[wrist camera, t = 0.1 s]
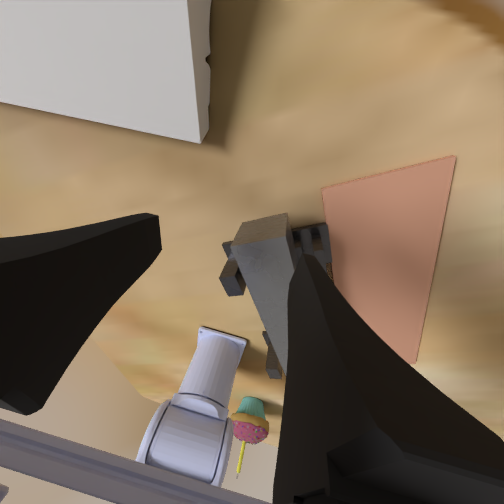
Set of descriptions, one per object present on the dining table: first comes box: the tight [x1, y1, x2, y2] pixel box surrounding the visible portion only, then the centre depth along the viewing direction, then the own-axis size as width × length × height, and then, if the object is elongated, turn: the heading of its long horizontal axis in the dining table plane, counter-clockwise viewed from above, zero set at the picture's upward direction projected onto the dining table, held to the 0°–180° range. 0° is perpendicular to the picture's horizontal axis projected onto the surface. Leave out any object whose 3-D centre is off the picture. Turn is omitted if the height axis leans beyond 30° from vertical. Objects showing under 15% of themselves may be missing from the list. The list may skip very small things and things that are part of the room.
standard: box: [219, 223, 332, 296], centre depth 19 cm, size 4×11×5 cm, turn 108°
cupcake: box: [231, 397, 269, 478], centre depth 40 cm, size 9×8×12 cm
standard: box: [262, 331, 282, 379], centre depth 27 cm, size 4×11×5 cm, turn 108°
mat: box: [321, 155, 456, 364], centre depth 22 cm, size 27×9×1 cm, turn 18°
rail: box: [230, 213, 298, 375], centre depth 21 cm, size 26×4×4 cm, turn 18°
